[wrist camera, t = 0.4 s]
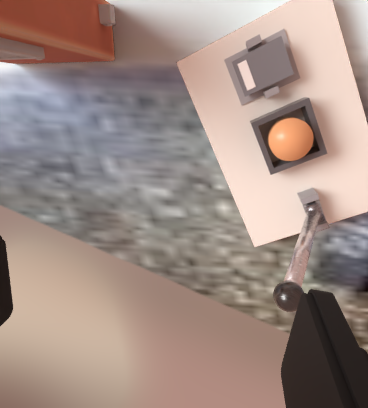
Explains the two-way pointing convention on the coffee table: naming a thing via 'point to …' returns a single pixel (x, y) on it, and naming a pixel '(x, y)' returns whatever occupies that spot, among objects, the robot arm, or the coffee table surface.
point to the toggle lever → (299, 260)
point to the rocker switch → (263, 66)
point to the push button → (290, 138)
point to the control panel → (56, 31)
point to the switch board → (280, 108)
